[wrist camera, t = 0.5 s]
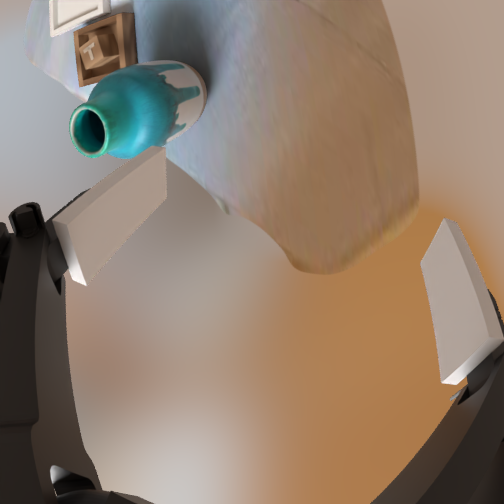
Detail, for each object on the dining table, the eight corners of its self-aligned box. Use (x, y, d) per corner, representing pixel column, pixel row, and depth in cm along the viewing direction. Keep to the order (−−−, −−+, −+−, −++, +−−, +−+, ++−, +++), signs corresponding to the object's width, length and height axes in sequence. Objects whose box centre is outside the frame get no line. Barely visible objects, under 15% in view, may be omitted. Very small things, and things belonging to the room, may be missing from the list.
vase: (215, 131, 39) (137, 192, 24) (150, 124, 40) (59, 177, 26) (221, 58, 32) (132, 71, 18) (151, 57, 34) (47, 80, 19)
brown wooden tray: (86, 30, 31) (73, 31, 29) (134, 13, 29) (121, 12, 27) (91, 83, 38) (79, 87, 35) (138, 72, 35) (126, 75, 33)
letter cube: (96, 45, 33) (78, 48, 30) (113, 33, 31) (95, 35, 28) (102, 65, 35) (85, 69, 32) (120, 54, 33) (103, 57, 30)
